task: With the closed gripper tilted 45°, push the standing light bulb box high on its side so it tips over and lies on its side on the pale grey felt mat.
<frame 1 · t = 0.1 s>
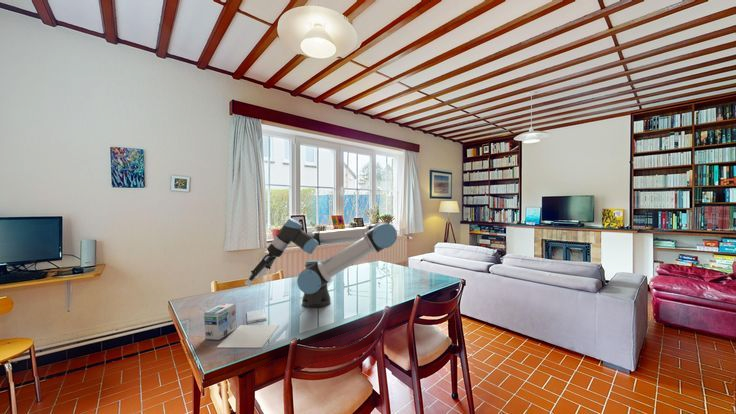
hand: (253, 281, 137), 15 cm above the table, tool tilted 35°, fingers open, 13 cm apart
light bulb box: (221, 334, 114), on the table, touching felt mat
felt mat: (250, 335, 112), on the table
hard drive: (256, 318, 132), on the table
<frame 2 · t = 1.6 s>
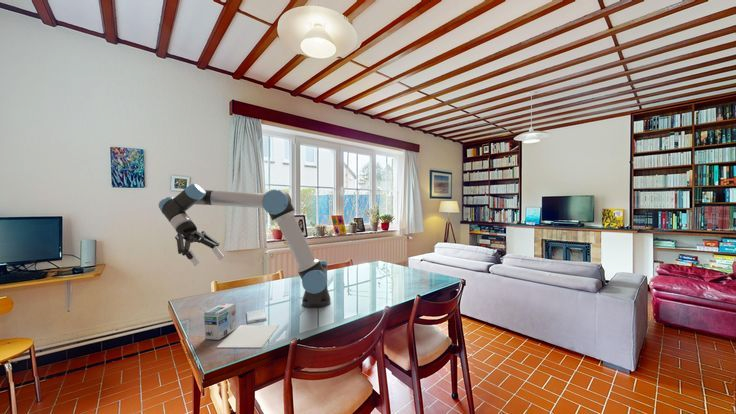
hand: (210, 261, 122), 28 cm above the table, tool tilted 45°, fingers open, 13 cm apart
nothing on the table moved.
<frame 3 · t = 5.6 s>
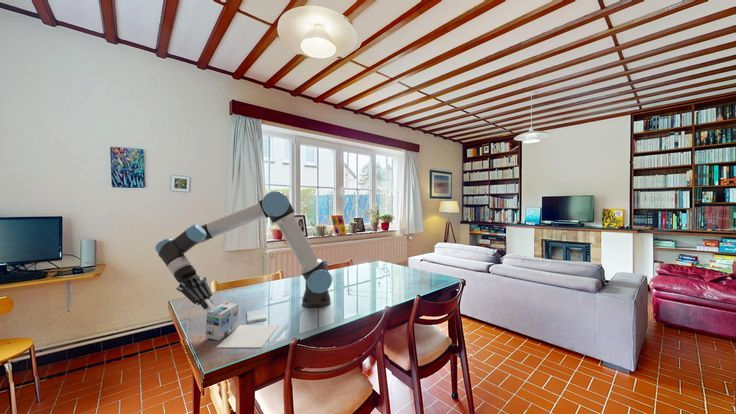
hand: (213, 313, 114), 8 cm above the table, tool tilted 45°, fingers closed
light bulb box: (221, 333, 114), on the table, touching felt mat, gripper
everything else where it was.
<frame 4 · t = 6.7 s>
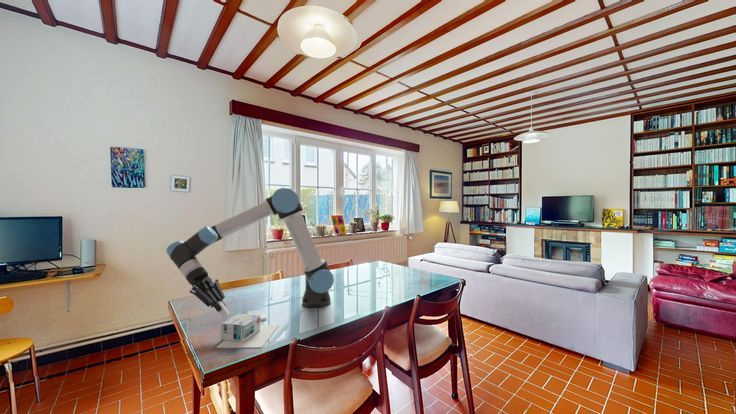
hand: (227, 315, 113), 8 cm above the table, tool tilted 45°, fingers closed
light bulb box: (229, 325, 113), point 4 cm above the table, touching felt mat
everything else where it was.
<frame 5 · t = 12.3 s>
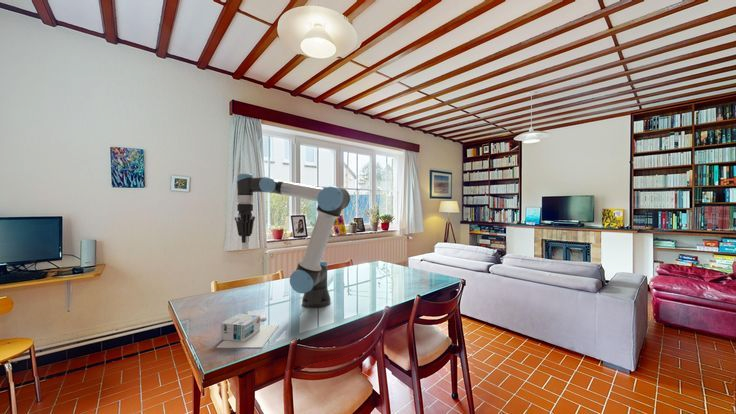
hand: (245, 248, 145), 30 cm above the table, tool pointing down, fingers closed
nothing on the table moved.
at the end: light bulb box tilted 91°; light bulb box touching felt mat; light bulb box inside the target area (3.1 cm from its centre), point 3.7 cm above the table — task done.
